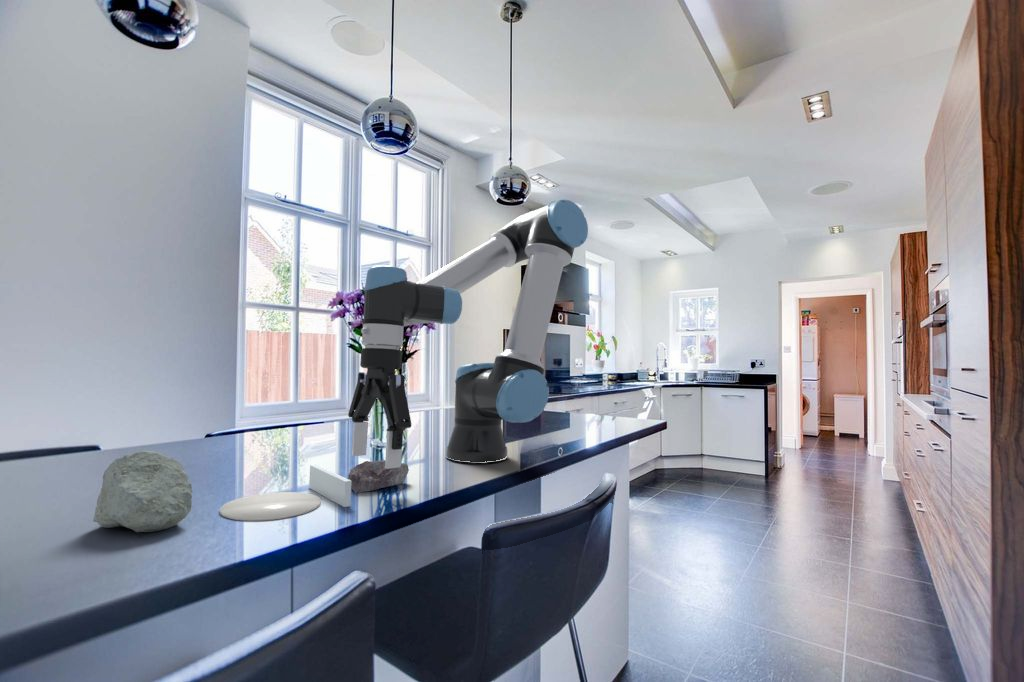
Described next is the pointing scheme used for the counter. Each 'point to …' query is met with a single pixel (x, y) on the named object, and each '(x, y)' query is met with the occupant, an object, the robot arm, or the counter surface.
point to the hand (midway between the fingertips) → (374, 461)
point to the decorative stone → (144, 493)
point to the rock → (376, 476)
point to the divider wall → (330, 485)
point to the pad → (270, 506)
